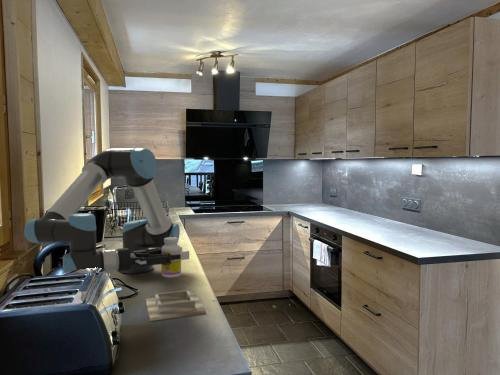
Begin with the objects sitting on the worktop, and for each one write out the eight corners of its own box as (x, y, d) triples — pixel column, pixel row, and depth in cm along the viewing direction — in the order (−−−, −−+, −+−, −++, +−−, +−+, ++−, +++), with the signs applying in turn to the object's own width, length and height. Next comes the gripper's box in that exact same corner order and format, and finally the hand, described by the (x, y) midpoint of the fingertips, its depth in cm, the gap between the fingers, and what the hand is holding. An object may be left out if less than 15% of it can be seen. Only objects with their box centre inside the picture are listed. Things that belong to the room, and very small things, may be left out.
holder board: (145, 301, 137) (145, 292, 136) (195, 295, 143) (195, 286, 142) (149, 320, 120) (149, 310, 120) (205, 313, 126) (205, 303, 125)
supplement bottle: (157, 275, 131) (157, 238, 130) (174, 271, 135) (173, 235, 135) (168, 279, 126) (167, 240, 125) (184, 275, 131) (184, 238, 130)
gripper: (111, 265, 131) (176, 257, 142) (122, 280, 113) (195, 270, 124) (111, 243, 130) (176, 237, 141) (122, 255, 113) (195, 247, 124)
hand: (185, 252), depth 133 cm, fingers closed on supplement bottle, 7 cm apart
